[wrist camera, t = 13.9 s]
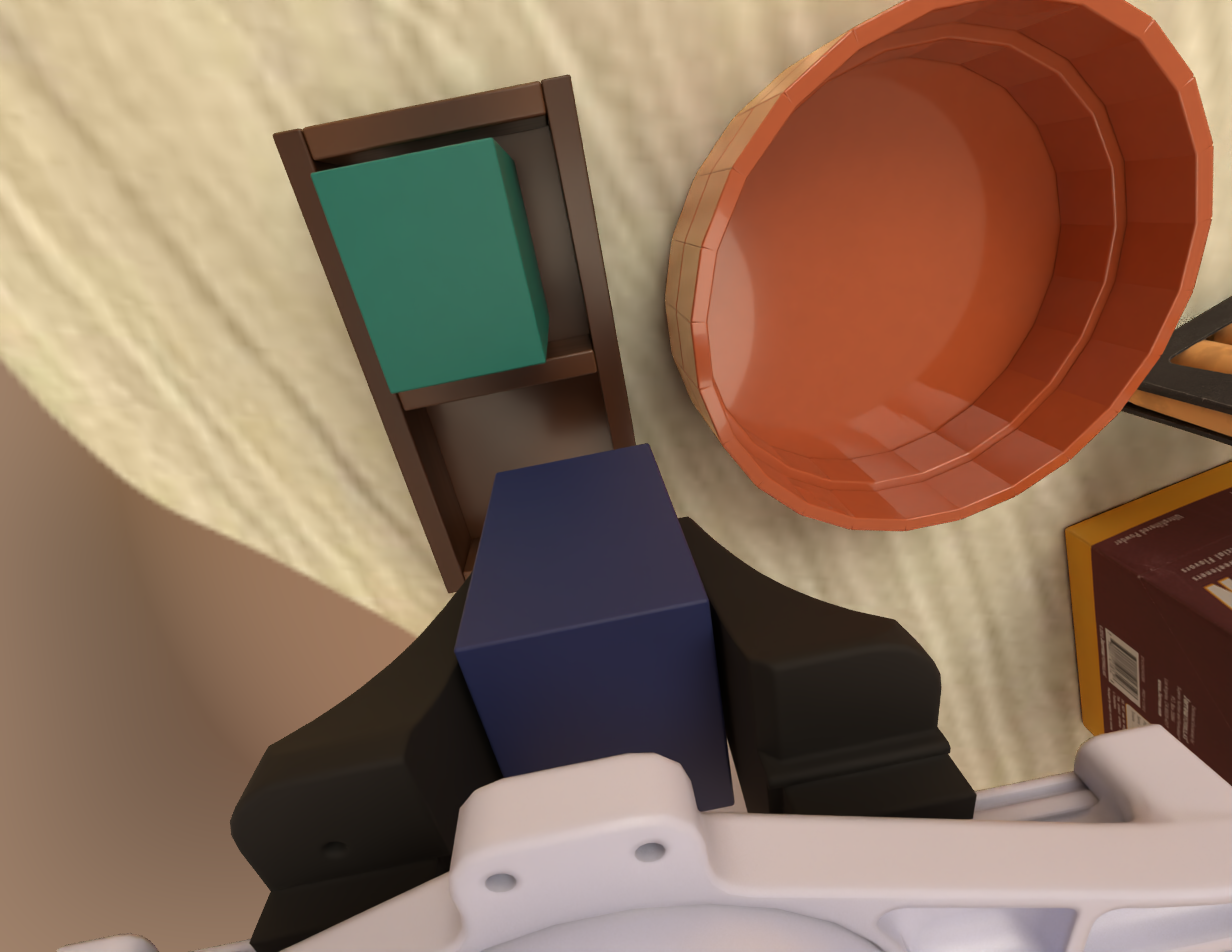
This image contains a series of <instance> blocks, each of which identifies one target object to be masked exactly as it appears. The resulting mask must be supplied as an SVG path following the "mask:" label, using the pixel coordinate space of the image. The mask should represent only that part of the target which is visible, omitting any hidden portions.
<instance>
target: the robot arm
mask: <svg viewBox="0 0 1232 952" xmlns="http://www.w3.org/2000/svg"><path fill="white" fill-rule="evenodd" d="M678 521H679V523H680V526H681V528H682V531H683V534H684V536H685V539H686V542H687V544H688V547H689V549H690V552H691V555H692V557H693V560H694V562H695V565H696V568H697V570H698V573H699V576H700V578H701V581H702V583H703V586H704V589H705V591H706V594H707V596H708V599H709V605H710V612H711V620H712V628H713V636H714V644H715V651H716V659H717V667H718V675H719V683H720V690H721V698H722V706H723V714H724V722H725V729H726V737H727V745H728V753H729V760H730V768H731V776H732V784H733V792H734V799H735V803H734V805H733V806H729V807H724V808H719V809H714V810H709V811H704V812H700V811H699V810H698V809H697V805H696V800H695V796H694V792H693V787H692V783H691V780H690V778H689V777H688V775H687V774H686V772H685V770H684V769H683V767H682V766H681V764H680V763H678V762H675V761H673V760H670V759H668V758H666V757H663V756H661V755H659V754H656V753H625V754H620V755H615V756H610V757H606V758H601V759H596V760H591V761H586V762H581V763H576V764H571V765H566V766H561V767H556V768H551V769H546V770H541V771H536V772H531V773H527V774H522V775H517V776H512V777H507V778H504V777H503V775H502V772H501V770H500V767H499V765H498V762H497V760H496V757H495V755H494V752H493V749H492V747H491V744H490V742H489V739H488V737H487V734H486V732H485V729H484V727H483V724H482V722H481V719H480V716H479V714H478V711H477V709H476V706H475V704H474V701H473V699H472V696H471V694H470V691H469V689H468V686H467V683H466V681H465V678H464V676H463V673H462V671H461V668H460V666H459V663H458V661H457V658H456V656H455V653H454V647H455V643H456V639H457V635H458V630H459V626H460V622H461V618H462V614H463V609H464V605H465V601H466V597H467V593H468V588H469V584H470V580H471V576H472V572H473V571H472V572H471V574H470V575H469V576H468V578H467V579H466V580H465V582H464V583H463V585H462V586H461V587H460V588H459V590H458V591H457V592H456V594H455V595H454V596H453V597H452V599H451V600H450V601H449V603H448V604H447V605H446V606H445V607H444V609H443V610H442V611H441V612H440V613H439V614H438V616H437V617H436V618H435V619H434V620H433V621H432V622H431V624H430V625H429V626H428V627H427V628H426V629H425V630H424V632H423V633H422V634H421V635H420V636H419V637H418V638H417V639H416V640H415V641H414V642H413V643H412V644H411V645H410V646H409V647H408V648H407V649H406V650H405V651H404V652H403V653H401V655H399V656H398V657H397V658H396V659H395V660H394V661H393V662H392V663H391V664H389V665H388V666H387V667H386V668H385V669H384V670H382V671H381V672H380V673H378V674H377V675H376V676H375V677H374V678H372V679H371V680H370V681H369V682H367V683H366V684H365V685H364V686H362V687H361V688H360V689H359V690H357V691H356V692H354V693H353V694H352V695H351V696H349V697H348V698H346V699H345V700H343V701H342V702H340V703H339V704H338V705H336V706H335V707H333V708H332V709H330V710H329V711H327V712H326V713H324V714H323V715H321V716H319V717H318V718H316V719H315V720H314V721H312V722H310V723H308V724H306V725H305V726H303V727H301V728H300V729H298V730H296V731H295V732H293V733H291V734H289V735H288V736H286V737H284V738H283V739H281V740H279V741H278V742H276V743H274V744H272V745H270V746H269V747H268V749H267V750H266V752H265V753H264V755H263V757H262V759H261V761H260V763H259V765H258V766H257V768H256V770H255V772H254V774H253V776H252V778H251V779H250V781H249V783H248V785H247V787H246V789H245V791H244V792H243V795H242V796H241V798H240V800H239V802H238V803H237V806H236V807H235V810H234V812H233V815H232V818H231V820H230V825H231V835H232V837H233V839H234V841H235V843H236V845H237V847H238V848H239V850H240V852H241V853H242V854H243V856H244V857H245V858H246V859H247V861H248V862H249V863H250V865H251V866H252V867H253V869H254V870H255V871H256V872H257V874H258V875H259V876H260V878H261V879H262V880H263V882H264V883H265V884H266V885H267V887H268V888H269V889H270V891H271V893H270V895H269V897H268V900H267V902H266V904H265V907H264V909H263V912H262V914H261V916H260V918H259V921H258V923H257V926H256V928H255V930H254V933H253V935H252V938H251V939H249V940H244V941H239V942H234V943H229V944H224V945H219V946H214V947H209V948H205V949H200V950H195V951H190V952H1232V786H1231V785H1230V784H1229V783H1227V782H1226V781H1225V780H1224V779H1223V778H1222V777H1220V776H1219V775H1218V774H1217V773H1216V772H1215V771H1213V770H1212V769H1211V768H1210V767H1209V766H1208V765H1206V764H1205V763H1204V762H1203V761H1202V760H1201V759H1199V758H1198V757H1197V756H1196V755H1195V754H1194V753H1192V752H1191V751H1190V750H1189V749H1188V748H1187V747H1185V746H1184V745H1183V744H1182V743H1181V742H1180V741H1178V740H1177V739H1176V738H1175V737H1174V736H1173V735H1172V734H1170V733H1169V732H1168V731H1167V730H1166V729H1165V728H1163V727H1162V726H1161V725H1159V724H1149V725H1144V726H1140V727H1135V728H1130V729H1125V730H1120V731H1115V732H1110V733H1105V734H1100V735H1097V736H1094V737H1092V738H1089V739H1088V740H1086V741H1085V742H1084V743H1082V744H1081V745H1080V747H1079V749H1078V750H1077V753H1076V756H1075V762H1074V771H1072V772H1067V773H1062V774H1057V775H1052V776H1047V777H1042V778H1038V779H1033V780H1028V781H1023V782H1018V783H1013V784H1008V785H1003V786H998V787H993V788H989V789H984V790H979V791H974V790H973V789H972V787H971V786H970V784H969V783H968V782H967V780H966V779H965V777H964V776H963V775H962V773H961V772H960V770H959V769H958V768H957V766H956V765H955V763H954V762H953V761H952V759H951V758H950V756H949V755H948V753H950V749H951V748H950V745H949V742H948V741H947V739H946V738H945V737H944V735H943V734H942V733H941V731H940V730H939V729H938V727H937V724H938V715H939V706H940V696H941V676H940V672H939V670H938V668H937V666H936V664H935V662H934V661H933V660H932V659H931V657H930V656H929V655H928V654H927V652H926V651H925V650H924V649H923V648H922V646H921V645H920V644H919V643H918V642H917V641H916V640H915V639H914V638H913V637H912V636H911V635H910V634H909V633H908V632H907V631H906V630H905V629H904V628H903V627H902V626H901V625H900V624H899V623H898V622H897V621H896V620H894V619H889V618H884V617H880V616H875V615H871V614H866V613H861V612H857V611H853V610H849V609H846V608H843V607H839V606H836V605H833V604H829V603H827V602H824V601H821V600H818V599H815V598H812V597H810V596H808V595H805V594H803V593H800V592H798V591H795V590H793V589H791V588H789V587H786V586H784V585H782V584H780V583H778V582H776V581H774V580H773V579H771V578H769V577H767V576H765V575H763V574H761V573H760V572H758V571H756V570H755V569H753V568H752V567H750V566H749V565H747V564H746V563H744V562H743V561H741V560H740V559H739V558H737V557H736V556H734V555H733V554H732V553H730V552H729V551H728V550H727V549H725V548H724V547H723V546H721V545H720V544H719V543H718V542H717V541H715V540H714V539H713V538H712V537H711V536H710V535H708V534H707V533H706V532H705V531H704V530H703V529H702V528H701V527H700V526H699V525H698V524H697V523H696V522H695V521H694V520H692V519H691V518H689V517H683V518H678ZM56 952H159V951H158V950H157V948H156V947H155V945H154V944H153V943H152V942H151V941H150V940H148V939H146V938H145V937H143V936H140V935H136V934H118V935H113V936H108V937H103V938H99V939H94V940H89V941H84V942H79V943H74V944H69V945H65V946H63V947H61V948H59V949H57V951H56Z"/></svg>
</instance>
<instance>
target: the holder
mask: <svg viewBox="0 0 1232 952" xmlns="http://www.w3.org/2000/svg"><path fill="white" fill-rule="evenodd" d="M489 137H491V138H493V139H494V140H495V141H496V142H497V143H498V144H499V145H500V146H501V147H502V148H503V150H504V151H505V152H506V153H507V154H508V155H509V156H510V157H511V158H512V159H513V160H514V162H515V166H516V171H517V175H518V180H519V184H520V188H521V193H522V197H523V202H524V206H525V211H526V215H527V219H528V224H529V228H530V233H531V237H532V241H533V246H534V250H535V255H536V259H537V264H538V268H539V272H540V277H541V281H542V286H543V290H544V294H545V299H546V303H547V308H548V312H549V317H550V318H549V330H548V343H547V355H546V363H543V364H538V365H533V366H528V367H523V368H518V369H514V370H509V371H504V372H499V373H494V374H489V375H484V376H479V377H474V378H469V379H464V380H459V381H454V382H449V383H444V384H439V385H434V386H429V387H424V388H419V389H414V390H409V391H404V392H399V393H394V394H391V392H390V390H389V387H388V385H387V382H386V379H385V376H384V374H383V371H382V368H381V366H380V363H379V360H378V357H377V355H376V352H375V349H374V347H373V344H372V341H371V338H370V336H369V333H368V330H367V328H366V325H365V322H364V319H363V317H362V314H361V311H360V309H359V306H358V303H357V301H356V298H355V295H354V292H353V290H352V287H351V284H350V282H349V279H348V276H347V273H346V271H345V268H344V265H343V263H342V260H341V257H340V254H339V252H338V249H337V246H336V244H335V241H334V238H333V235H332V233H331V230H330V227H329V225H328V222H327V219H326V216H325V214H324V211H323V208H322V206H321V203H320V200H319V197H318V195H317V192H316V189H315V187H314V184H313V181H312V178H311V173H314V172H319V171H324V170H329V169H334V168H339V167H344V166H349V165H354V164H359V163H364V162H369V161H374V160H379V159H384V158H389V157H394V156H399V155H404V154H409V153H414V152H419V151H424V150H429V149H434V148H439V147H444V146H449V145H454V144H459V143H464V142H469V141H474V140H479V139H484V138H489ZM273 138H274V141H275V144H276V146H277V149H278V151H279V154H280V157H281V159H282V162H283V164H284V167H285V170H286V172H287V175H288V177H289V180H290V183H291V185H292V188H293V190H294V193H295V196H296V198H297V201H298V203H299V206H300V209H301V211H302V214H303V217H304V219H305V222H306V224H307V227H308V230H309V232H310V235H311V237H312V240H313V243H314V245H315V248H316V250H317V253H318V256H319V258H320V261H321V263H322V266H323V269H324V271H325V274H326V276H327V279H328V282H329V284H330V287H331V289H332V292H333V295H334V297H335V300H336V302H337V305H338V308H339V310H340V313H341V315H342V318H343V321H344V323H345V326H346V328H347V331H348V334H349V336H350V339H351V341H352V344H353V347H354V349H355V352H356V354H357V357H358V360H359V362H360V365H361V367H362V370H363V373H364V375H365V378H366V380H367V383H368V386H369V388H370V391H371V393H372V396H373V399H374V401H375V404H376V406H377V409H378V412H379V414H380V417H381V419H382V422H383V425H384V427H385V430H386V432H387V435H388V438H389V440H390V443H391V446H392V448H393V451H394V453H395V456H396V459H397V461H398V464H399V466H400V469H401V472H402V474H403V477H404V479H405V482H406V485H407V487H408V490H409V492H410V495H411V498H412V500H413V503H414V505H415V508H416V511H417V513H418V516H419V518H420V521H421V524H422V526H423V529H424V531H425V534H426V537H427V539H428V542H429V544H430V547H431V550H432V552H433V555H434V557H435V560H436V563H437V565H438V568H439V570H440V573H441V576H442V578H443V581H444V583H445V586H446V589H447V591H448V593H452V592H457V591H458V590H459V588H460V587H461V586H462V585H463V583H464V582H465V580H466V579H467V578H468V576H469V575H470V574H471V572H472V571H473V567H474V563H475V559H476V555H477V551H478V546H479V542H480V538H481V534H482V530H483V525H484V521H485V517H486V513H487V509H488V504H489V500H490V496H491V492H492V488H493V483H494V479H495V475H496V473H499V472H504V471H509V470H514V469H519V468H524V467H529V466H534V465H539V464H544V463H549V462H554V461H560V460H565V459H570V458H575V457H580V456H585V455H590V454H595V453H600V452H605V451H610V450H615V449H620V448H625V447H630V446H635V445H636V442H635V436H634V431H633V425H632V419H631V414H630V408H629V403H628V397H627V391H626V386H625V380H624V374H623V369H622V363H621V358H620V352H619V346H618V341H617V335H616V329H615V324H614V318H613V313H612V307H611V301H610V296H609V290H608V284H607V279H606V273H605V268H604V262H603V256H602V251H601V245H600V240H599V234H598V228H597V223H596V217H595V211H594V206H593V200H592V195H591V189H590V183H589V178H588V172H587V166H586V161H585V155H584V150H583V144H582V138H581V133H580V127H579V121H578V116H577V110H576V105H575V99H574V93H573V88H572V82H571V77H570V75H564V76H559V77H554V78H549V79H544V80H542V81H541V83H540V82H538V81H536V82H530V83H525V84H520V85H515V86H510V87H505V88H500V89H495V90H490V91H485V92H480V93H475V94H470V95H465V96H460V97H455V98H450V99H445V100H440V101H435V102H430V103H425V104H420V105H415V106H410V107H405V108H400V109H395V110H390V111H385V112H380V113H375V114H370V115H364V116H359V117H354V118H349V119H344V120H339V121H334V122H329V123H324V124H319V125H314V126H309V127H305V128H304V129H303V130H302V129H293V130H288V131H283V132H278V133H274V134H273Z"/></svg>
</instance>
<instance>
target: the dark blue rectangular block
mask: <svg viewBox="0 0 1232 952" xmlns="http://www.w3.org/2000/svg"><path fill="white" fill-rule="evenodd" d="M454 653H455V656H456V658H457V661H458V663H459V666H460V668H461V671H462V673H463V676H464V678H465V681H466V683H467V686H468V689H469V691H470V694H471V696H472V699H473V701H474V704H475V706H476V709H477V711H478V714H479V716H480V719H481V722H482V724H483V727H484V729H485V732H486V734H487V737H488V739H489V742H490V744H491V747H492V749H493V752H494V755H495V757H496V760H497V762H498V765H499V767H500V770H501V772H502V775H503V777H504V778H507V777H512V776H517V775H522V774H527V773H531V772H536V771H541V770H546V769H551V768H556V767H561V766H566V765H571V764H576V763H581V762H586V761H591V760H596V759H601V758H606V757H610V756H615V755H620V754H625V753H656V754H659V755H661V756H663V757H666V758H668V759H670V760H673V761H675V762H678V763H680V764H681V766H682V767H683V769H684V770H685V772H686V774H687V775H688V777H689V778H690V780H691V783H692V787H693V792H694V796H695V800H696V805H697V809H698V810H699V811H700V812H704V811H709V810H714V809H719V808H724V807H729V806H733V805H734V803H735V799H734V792H733V784H732V776H731V768H730V760H729V753H728V745H727V737H726V729H725V722H724V714H723V706H722V698H721V690H720V683H719V675H718V667H717V659H716V651H715V644H714V636H713V628H712V620H711V612H710V605H709V599H708V596H707V594H706V591H705V589H704V586H703V583H702V581H701V578H700V576H699V573H698V570H697V568H696V565H695V562H694V560H693V557H692V555H691V552H690V549H689V547H688V544H687V542H686V539H685V536H684V534H683V531H682V528H681V526H680V523H679V521H678V518H677V515H676V513H675V510H674V508H673V505H672V502H671V500H670V497H669V495H668V492H667V489H666V487H665V484H664V481H663V479H662V476H661V474H660V471H659V468H658V466H657V463H656V461H655V458H654V455H653V453H652V450H651V448H650V445H649V444H648V443H645V444H640V445H635V446H630V447H625V448H620V449H615V450H610V451H605V452H600V453H595V454H590V455H585V456H580V457H575V458H570V459H565V460H560V461H554V462H549V463H544V464H539V465H534V466H529V467H524V468H519V469H514V470H509V471H504V472H499V473H496V475H495V479H494V483H493V488H492V492H491V496H490V500H489V504H488V509H487V513H486V517H485V521H484V525H483V530H482V534H481V538H480V542H479V546H478V551H477V555H476V559H475V563H474V567H473V572H472V576H471V580H470V584H469V588H468V593H467V597H466V601H465V605H464V609H463V614H462V618H461V622H460V626H459V630H458V635H457V639H456V643H455V647H454Z"/></svg>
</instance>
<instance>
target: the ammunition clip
mask: <svg viewBox="0 0 1232 952" xmlns="http://www.w3.org/2000/svg"><path fill="white" fill-rule="evenodd" d="M1160 356H1161V357H1160V359H1159V360H1158V361H1157V363H1156V364H1155V365H1154V367H1153V368H1152V369H1151V371H1150V372H1149V373H1148V375H1147V376H1146V378H1145V379H1144V380H1143V382H1142V383H1141V384H1140V386H1139V387H1138V388H1137V390H1136V391H1135V392H1134V394H1133V395H1132V397H1131V398H1130V399H1129V401H1128V402H1127V403H1126V405H1125V406H1124V407H1123V409H1122V410H1121V411H1124V412H1127V413H1130V414H1133V415H1137V416H1140V417H1143V418H1146V419H1150V420H1153V421H1156V422H1159V423H1162V424H1166V425H1169V426H1172V427H1175V428H1179V429H1182V430H1185V431H1188V432H1191V433H1194V434H1197V435H1200V436H1204V437H1207V438H1210V439H1213V440H1216V441H1219V442H1222V443H1225V444H1228V445H1231V446H1232V296H1231V297H1230V298H1228V299H1226V300H1225V301H1223V302H1221V303H1219V304H1218V305H1216V306H1214V307H1213V308H1211V309H1209V310H1208V311H1206V312H1204V313H1203V314H1201V315H1199V316H1198V317H1196V318H1194V319H1193V320H1191V321H1189V322H1188V323H1186V324H1184V325H1183V326H1181V327H1179V328H1177V329H1176V330H1174V331H1173V334H1172V336H1171V338H1170V340H1169V342H1168V344H1167V346H1166V348H1165V350H1164V352H1163V354H1162V355H1160Z"/></svg>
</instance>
